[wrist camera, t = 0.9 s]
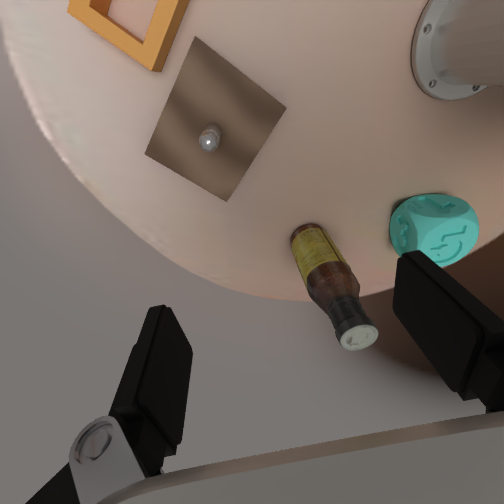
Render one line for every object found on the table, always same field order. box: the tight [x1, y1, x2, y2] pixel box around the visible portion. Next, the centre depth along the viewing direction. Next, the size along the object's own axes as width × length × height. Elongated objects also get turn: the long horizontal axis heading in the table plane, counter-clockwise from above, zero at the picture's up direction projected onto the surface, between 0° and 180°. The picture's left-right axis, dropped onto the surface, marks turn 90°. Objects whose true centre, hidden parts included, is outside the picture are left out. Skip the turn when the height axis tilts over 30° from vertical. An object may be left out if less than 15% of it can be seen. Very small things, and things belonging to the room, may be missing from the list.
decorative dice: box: [390, 194, 479, 267], centre depth 39 cm, size 8×8×8 cm
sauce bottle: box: [291, 224, 378, 350], centre depth 35 cm, size 6×6×20 cm
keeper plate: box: [145, 36, 286, 202], centre depth 30 cm, size 14×12×9 cm
